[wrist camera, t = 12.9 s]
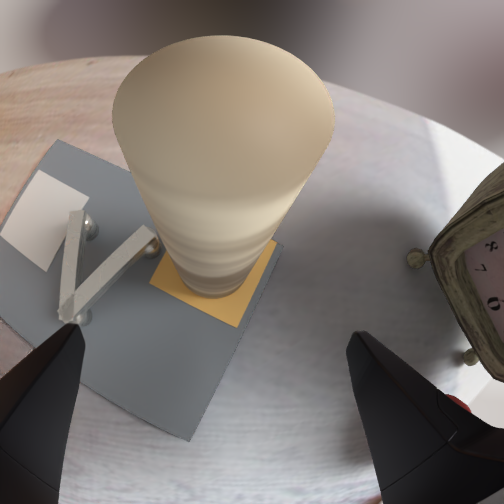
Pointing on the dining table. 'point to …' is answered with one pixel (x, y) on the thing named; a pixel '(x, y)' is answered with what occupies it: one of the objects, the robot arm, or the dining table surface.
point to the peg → (220, 149)
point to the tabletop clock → (474, 271)
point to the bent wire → (87, 293)
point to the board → (121, 294)
